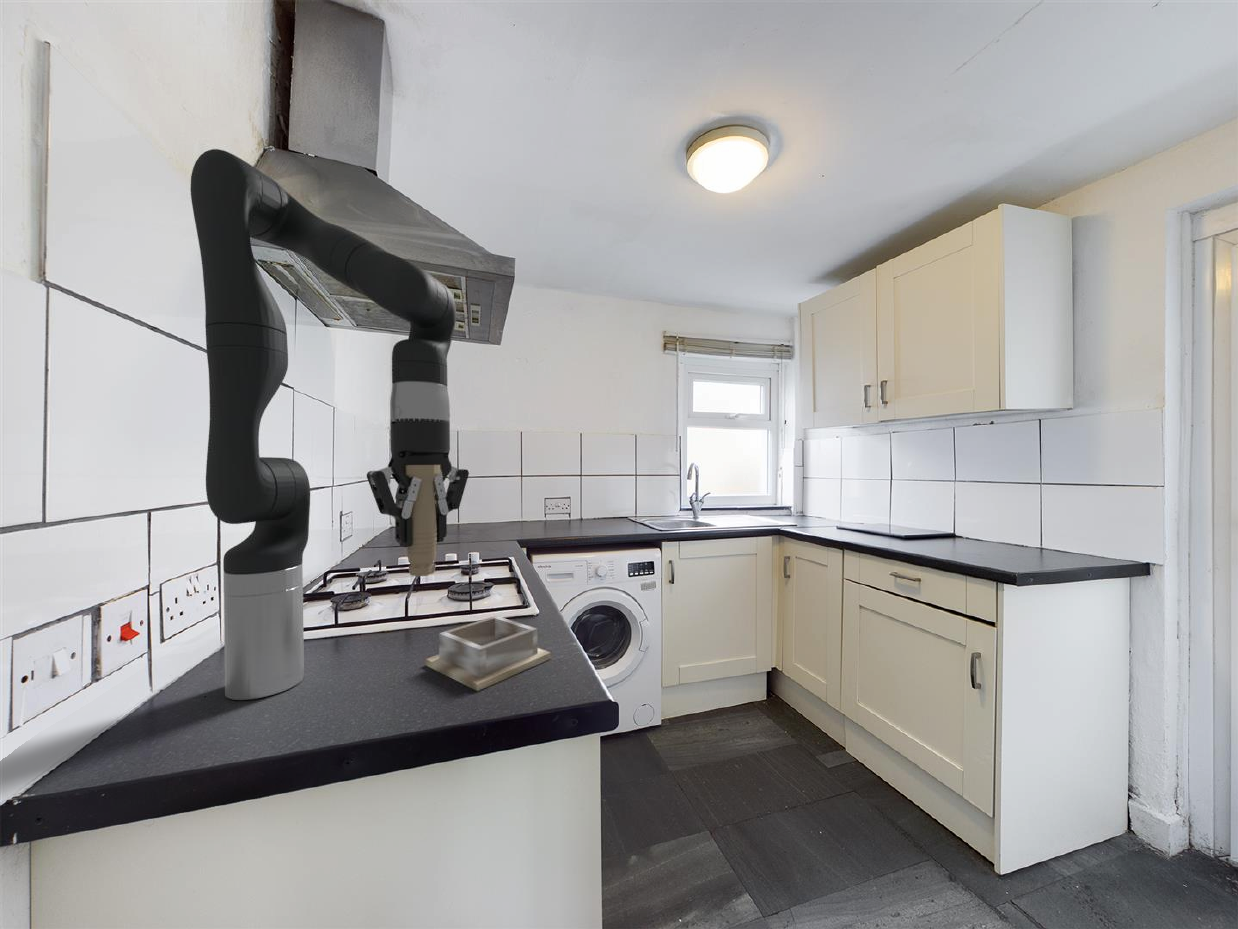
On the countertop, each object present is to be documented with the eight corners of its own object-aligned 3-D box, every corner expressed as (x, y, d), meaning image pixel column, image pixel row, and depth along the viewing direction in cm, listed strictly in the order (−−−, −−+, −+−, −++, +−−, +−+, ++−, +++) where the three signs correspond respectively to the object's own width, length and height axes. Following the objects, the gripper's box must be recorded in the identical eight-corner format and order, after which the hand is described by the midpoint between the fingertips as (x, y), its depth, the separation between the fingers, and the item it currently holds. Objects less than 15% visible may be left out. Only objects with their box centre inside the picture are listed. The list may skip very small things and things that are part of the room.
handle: (440, 568, 69) (439, 464, 69) (441, 578, 63) (440, 464, 63) (404, 571, 67) (403, 465, 67) (401, 581, 61) (400, 465, 61)
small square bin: (425, 665, 76) (425, 634, 76) (498, 639, 87) (497, 612, 87) (477, 691, 67) (477, 655, 67) (550, 658, 78) (550, 628, 78)
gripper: (452, 423, 73) (453, 535, 73) (353, 417, 62) (355, 548, 62) (481, 420, 68) (482, 539, 68) (380, 412, 57) (381, 555, 57)
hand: (421, 543), depth 65 cm, fingers closed on handle, 4 cm apart
